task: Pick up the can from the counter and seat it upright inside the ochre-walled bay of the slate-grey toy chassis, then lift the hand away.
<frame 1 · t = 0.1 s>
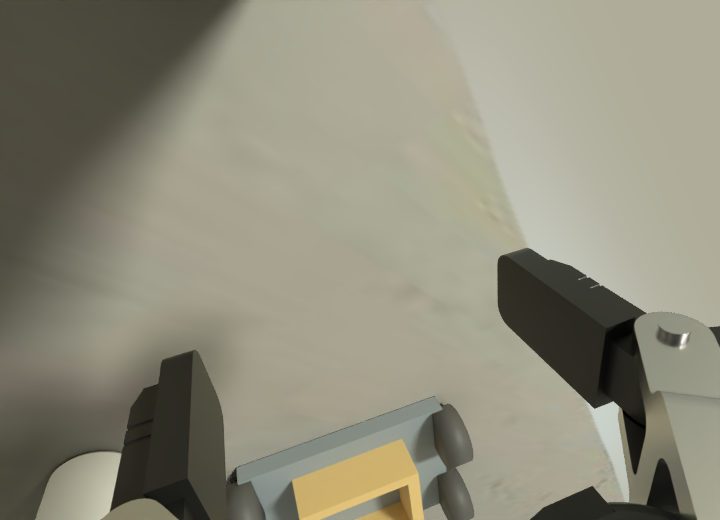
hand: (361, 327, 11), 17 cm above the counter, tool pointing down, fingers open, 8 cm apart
can: (100, 476, 33), on the counter
chassis: (351, 478, 42), on the counter
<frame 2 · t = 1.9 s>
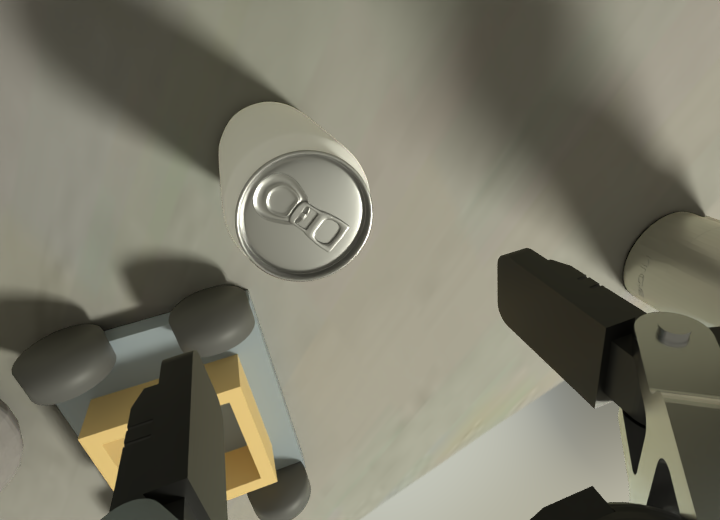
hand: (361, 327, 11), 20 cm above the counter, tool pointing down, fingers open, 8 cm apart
can: (271, 153, 28), on the counter
chassis: (191, 410, 35), on the counter
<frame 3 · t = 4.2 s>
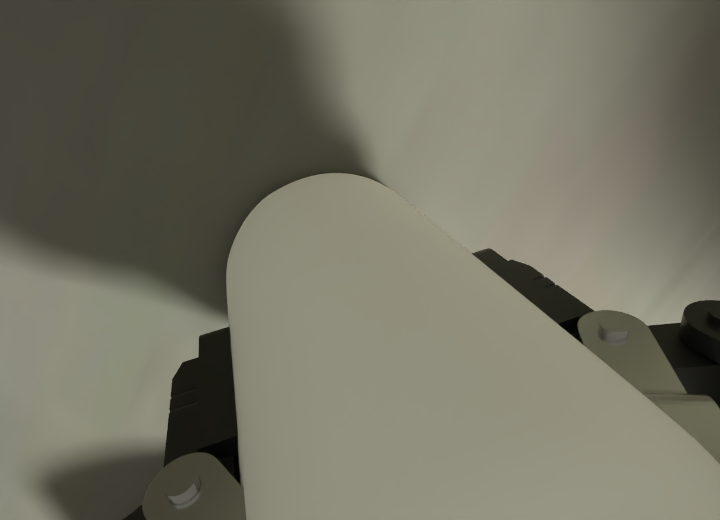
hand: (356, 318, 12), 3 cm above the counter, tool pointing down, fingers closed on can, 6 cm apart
can: (326, 263, 15), on the counter, touching gripper
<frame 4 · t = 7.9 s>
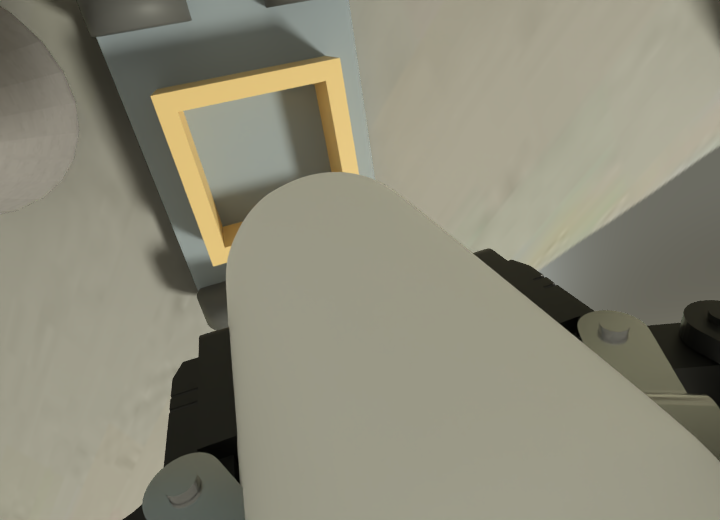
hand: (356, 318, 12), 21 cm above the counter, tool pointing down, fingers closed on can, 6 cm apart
can: (326, 262, 15), point 18 cm above the counter, touching gripper
chassis: (263, 149, 30), on the counter
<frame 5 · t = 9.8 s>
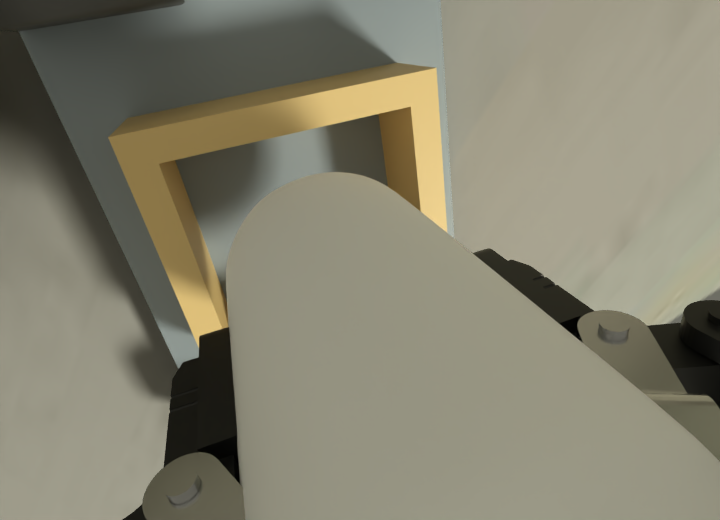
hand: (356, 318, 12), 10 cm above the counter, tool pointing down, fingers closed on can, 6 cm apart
can: (326, 262, 15), point 6 cm above the counter, touching gripper
chassis: (293, 202, 20), on the counter
when the fingers open (7 cm above the counter, at t = 11.5 s): can drops 2 cm, resting on chassis.
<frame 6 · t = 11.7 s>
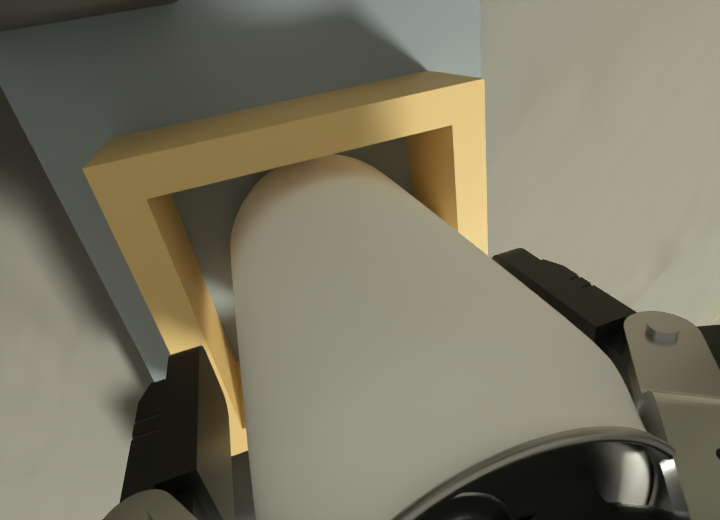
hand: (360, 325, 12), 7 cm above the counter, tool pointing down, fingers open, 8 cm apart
can: (320, 237, 16), point 1 cm above the counter, touching chassis
chassis: (305, 228, 17), on the counter
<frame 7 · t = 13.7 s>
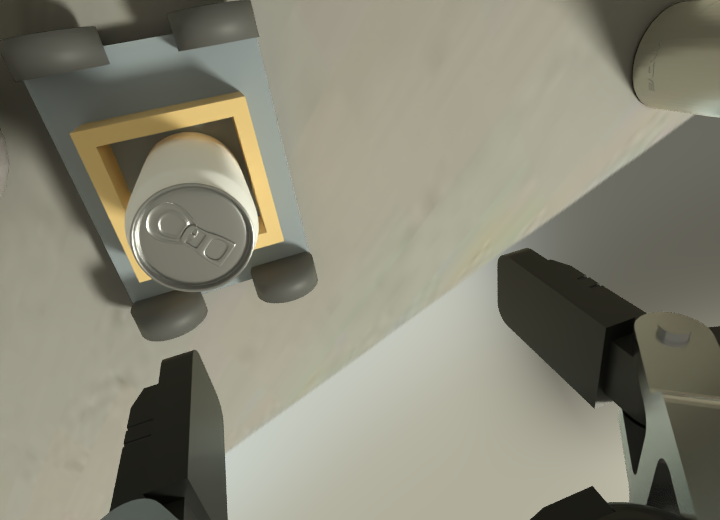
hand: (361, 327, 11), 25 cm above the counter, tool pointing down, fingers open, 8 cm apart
can: (194, 176, 32), point 1 cm above the counter, touching chassis
chassis: (190, 174, 33), on the counter
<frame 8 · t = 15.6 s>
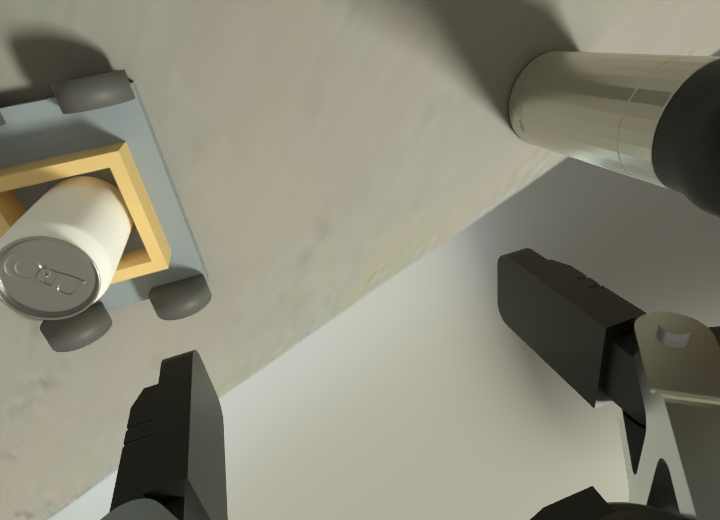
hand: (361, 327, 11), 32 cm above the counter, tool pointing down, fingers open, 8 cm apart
can: (91, 212, 37), point 1 cm above the counter, touching chassis
chassis: (91, 209, 38), on the counter
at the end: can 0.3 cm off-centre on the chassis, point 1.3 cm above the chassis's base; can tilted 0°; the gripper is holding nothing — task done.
